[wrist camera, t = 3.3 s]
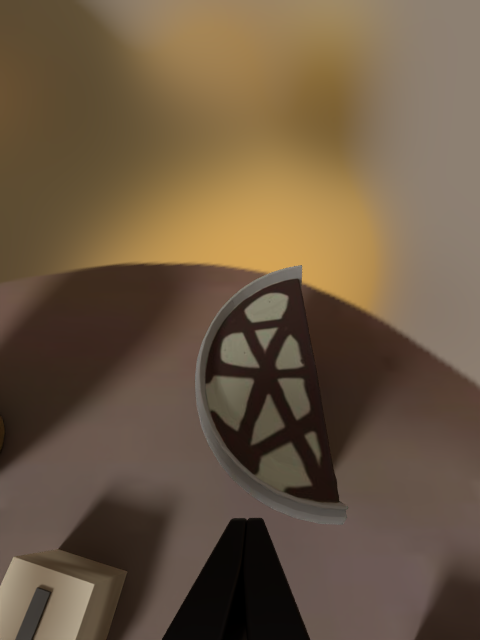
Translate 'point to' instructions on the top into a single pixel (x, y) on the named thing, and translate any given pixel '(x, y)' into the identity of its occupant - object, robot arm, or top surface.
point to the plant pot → (1, 432)
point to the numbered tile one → (58, 597)
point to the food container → (268, 400)
